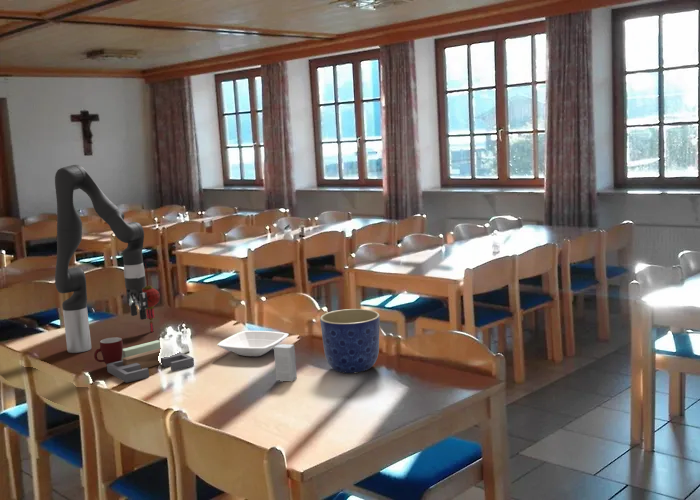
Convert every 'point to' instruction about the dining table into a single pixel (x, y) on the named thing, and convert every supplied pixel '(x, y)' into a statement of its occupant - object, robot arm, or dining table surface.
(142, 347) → the sage slat
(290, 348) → the skincare box
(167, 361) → the frame
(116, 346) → the mug
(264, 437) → the dining table surface
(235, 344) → the bowl
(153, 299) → the lantern
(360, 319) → the planter
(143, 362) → the walnut slat
